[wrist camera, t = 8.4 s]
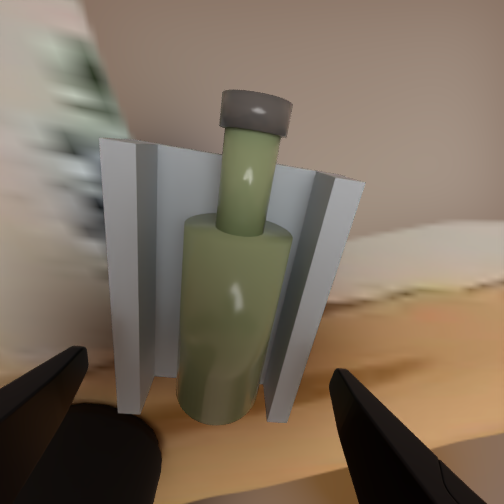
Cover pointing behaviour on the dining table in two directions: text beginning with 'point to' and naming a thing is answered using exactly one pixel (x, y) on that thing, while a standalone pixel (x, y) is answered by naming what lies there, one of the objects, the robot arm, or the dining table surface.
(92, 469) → the coffee jar
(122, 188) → the u rest
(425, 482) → the robot arm
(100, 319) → the dining table surface
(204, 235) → the oil bottle
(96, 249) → the dining table surface
